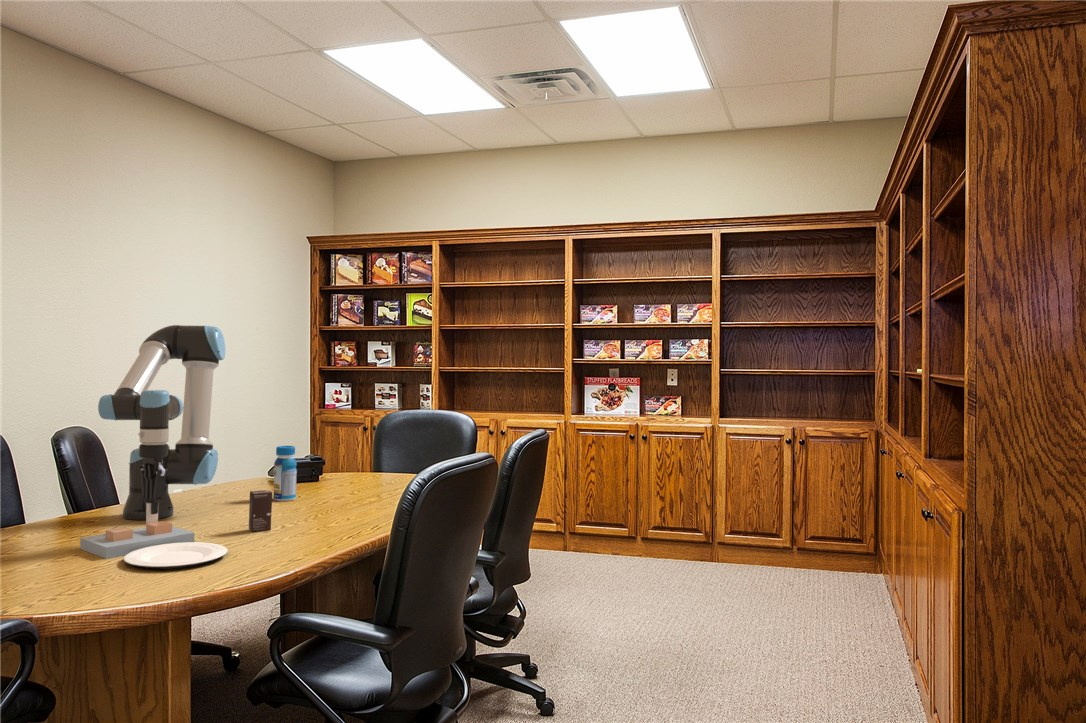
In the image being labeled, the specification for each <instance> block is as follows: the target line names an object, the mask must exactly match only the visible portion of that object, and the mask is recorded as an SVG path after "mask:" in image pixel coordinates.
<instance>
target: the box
mask: <svg viewBox="0 0 1086 723" xmlns="http://www.w3.org/2000/svg"><path fill="white" fill-rule="evenodd" d="M272 507H273V492H272V491H271V490H269V489H265V490H263V489H262V490H251V491H249V508H248V509H249V511H248V531H250V532H252V533H253V532H262V531H271V530H272Z"/></svg>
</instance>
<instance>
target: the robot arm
mask: <svg viewBox="0 0 1086 723" xmlns="http://www.w3.org/2000/svg"><path fill="white" fill-rule="evenodd" d="M138 353H139V354H138V356H137V357H136V359H135V360H134V362H133V364H132V365H131V367H130V368H129V370H128V372H127V373H126V374H125V377H124V378H123V380H122V381H121V383H120V385H119V386H118V388H117V389H116V390H115V392H114V393H113V394H112V393H110V394H104V395H102V396H100V399H99V401H98V405H97V410H98V415H99V416H100V418H101V419H103V420H110V421H113V420H114V421H139V433H138V436H139V443H140V445H139V446H138V448H135V449H133V450H132V451H131V452H130V455H129V462H128V465H129V469H128V470H129V474H128V475H129V476H128V477H129V478H128V479H129V480H128V481H129V483H128V487H129V489H128V496H127V498H126V502H125V504H124V506H123V509H122V518H123V519H125V520H131V521H145V525H146V524H147V523H154V522H159V519H164V518H168V517H172V516H173V515H174V505H173V502H172V500H171V497H170V493H169V485H195V486H196V485H206V484H209V483H210V482H211V481H212V480H213V479H214V476H215V475H216V472H217V469H218V463H219V452H218V450H217V449H216V448H214V444H213V443H212V442H211V440H210V439H209V437H210V424H211V410H212V408H211V407H212V397H213V396H212V394H213V382H214V381H213V380H214V370H216V368H218V367H219V364H220V361H223V360H224V359H225V356H226V343H225V337H224V334H223V332H222V330H221V329H220V328H219V327H217V326H211V325H179V324H174V325H173V324H172V325H168V326H164V327H162V328H160V329H158V330H156V331H154V332H153V333H151V334H150V335H149V336H148V337H147V338H145V340H144V341H142V343H141V345H140V347H139V350H138ZM175 359H176V360H181V365H183V367H184V368H185V369H186V370H185V381H184V383H185V384H184V393H183V394H184V397H183V401H182V399H181V398H179V397H178V396H177V395H173V394H170V393H169V391H168V390H165V389H164V390H163V389H149V388H150V386H151V385H152V384H153V381H154V379H155V377H156V376H157V374H158V373H159V371H160V369H161V368H162V366H163V365H166V364H167V363H168V362H169V360H175ZM181 414H182V422H181V434H180V439H179V440H178V441H177V442H176V443H175V444H174V445H175V448H173V449H171V448H170V445H169V444H168V442H169V435H170V434H169V432H170V427H169V425H170V424H169V422H170V421H173V420H175V419H177V418H179V417H180V416H181Z"/></svg>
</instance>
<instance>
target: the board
mask: <svg viewBox="0 0 1086 723" xmlns="http://www.w3.org/2000/svg"><path fill="white" fill-rule="evenodd" d="M132 530H133V539H128V540H122V541H116V542H113V541H110V540H107V539H105V536H106V533H105V534H103V533H102V534H96V535H91V536H90V535H89V536H85V537H80V538H79V540H80V541H79V542H80V544H79V545H80V546H79V549H80V550H82V551H84V552H87V553H90V554H93V555H95V556H98V557H100V558H103V559H105V560H107V559H113V558H114V559H115V558H118V557H119V558H120V557H125V555H127V554H129V553H130V552H132V551H135V550H138V549H142V548H146V547H150V546H156V545H162V544H171V543H185V542H195V532H194V531H192V530H191V531H190V530H187V529H184V528H179V527H176V526H173V525H172V532H170V533H164V534H158V535H153V534H150V533H146V527H141V528H136V529H132Z"/></svg>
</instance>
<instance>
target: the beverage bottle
mask: <svg viewBox="0 0 1086 723" xmlns="http://www.w3.org/2000/svg"><path fill="white" fill-rule="evenodd" d="M275 452H276V456H277V457H276V459H275V461H274V463H273V467H274V468H273V494H272V500H274V501H277V502H287V501H288V502H289V501H294V500H295V499H297V473H298V469H297V461H296V459H295V457H294V456H295V455H296V447H295V446H294V445H279V446H276V449H275Z"/></svg>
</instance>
